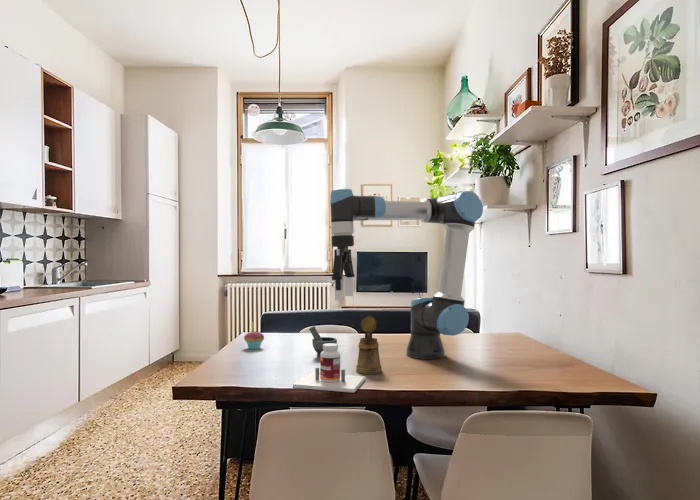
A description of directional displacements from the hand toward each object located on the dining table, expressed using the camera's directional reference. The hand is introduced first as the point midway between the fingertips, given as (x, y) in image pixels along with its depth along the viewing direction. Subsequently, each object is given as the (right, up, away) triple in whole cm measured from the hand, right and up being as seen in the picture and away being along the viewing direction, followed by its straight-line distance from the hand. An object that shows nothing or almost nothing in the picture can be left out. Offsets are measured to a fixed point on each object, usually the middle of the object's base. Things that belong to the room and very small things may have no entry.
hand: (344, 298), depth 147 cm
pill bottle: (-4, -24, -12) cm, 27 cm away
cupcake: (-40, -27, +42) cm, 64 cm away
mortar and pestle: (-9, -26, +26) cm, 38 cm away
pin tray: (-4, -25, -12) cm, 28 cm away
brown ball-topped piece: (+9, -26, +5) cm, 28 cm away
